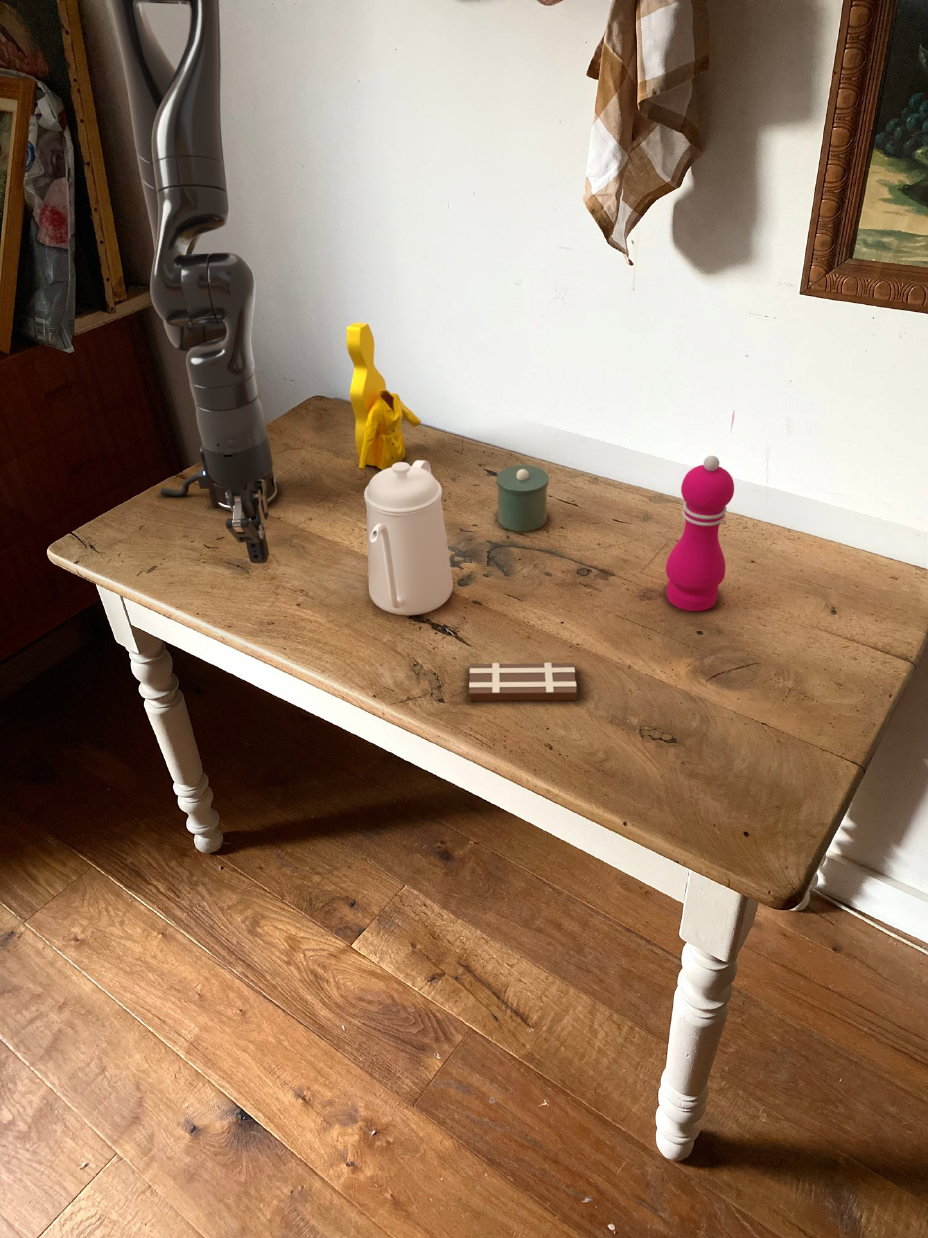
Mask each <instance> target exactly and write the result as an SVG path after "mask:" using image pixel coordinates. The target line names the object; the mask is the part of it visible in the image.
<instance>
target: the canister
mask: <svg viewBox="0 0 928 1238" xmlns="http://www.w3.org/2000/svg"><path fill="white" fill-rule="evenodd" d="M495 479H496V480H495V481H496V482H495V483H496V486H497V521H498V523H499V524H500V526H502V528H504V529H507V530H509V531H513V532H521V533H522V532H531V531H535V530H538V529H540V528H542V527H543V526H544V525H545V523H546V522H547V511H548V510H547V509H548V507H547V506H548V487H549V484H550V476H549V474H548V473H547V471H546V470H544V469H542V468H541V467H538V466H534V465H529V464H517V465H511V466H508V467H505V468H503V469H501V470H500V471H499V472H498V473H497V475H496V478H495Z"/></svg>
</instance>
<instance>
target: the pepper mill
mask: <svg viewBox="0 0 928 1238" xmlns="http://www.w3.org/2000/svg"><path fill="white" fill-rule="evenodd" d="M680 493H681V496H682V498H683V500H684V502H683V505H682V508H683V509H682V512H681V514H682V517H683V518H684V519H685V524H684V529H683V533H682V535H681V537H680V538H679V540H678V542H677V543H676V544H675V546H673V548H672V550H671V551H670V553H669V555H668V557H667V560H666V565H665V574H666V577H667V578H668V582H667V586H666V599H667V600H668V601H669V603H670V604H672V606H674V607H675V608H678V609H680V610H683V611H687V612H688V611H689V612H701V611H706V610H709V609H711V608H712V607H713V606H715V604H716V603H717V600H718V593H719V585H721V583H722V582H723V581H724V579H725V576H726V561H725V560H726V559H725V556H724V552H723V550H722V546H721V545H720V540H719V528H720V524H721V523H722V522H724V521H725V519H726V513H727V505H728V504H729V503H730V502H731V500H732V499H733V497H734V495H735V482H734V479H733V476H732V475H731V473H730V472H729V471H728V470H726V469H725V468H723V467H722V466H720V459H719V458H718V457H717V456H715V455H709V456H706V457H705V458H704V460H703V464H700V465H697V466H695V467H693V468H691V469H690V470H689V471H687V473H686V474H685V476H684V478H683V479H682V483H681V485H680Z"/></svg>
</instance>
